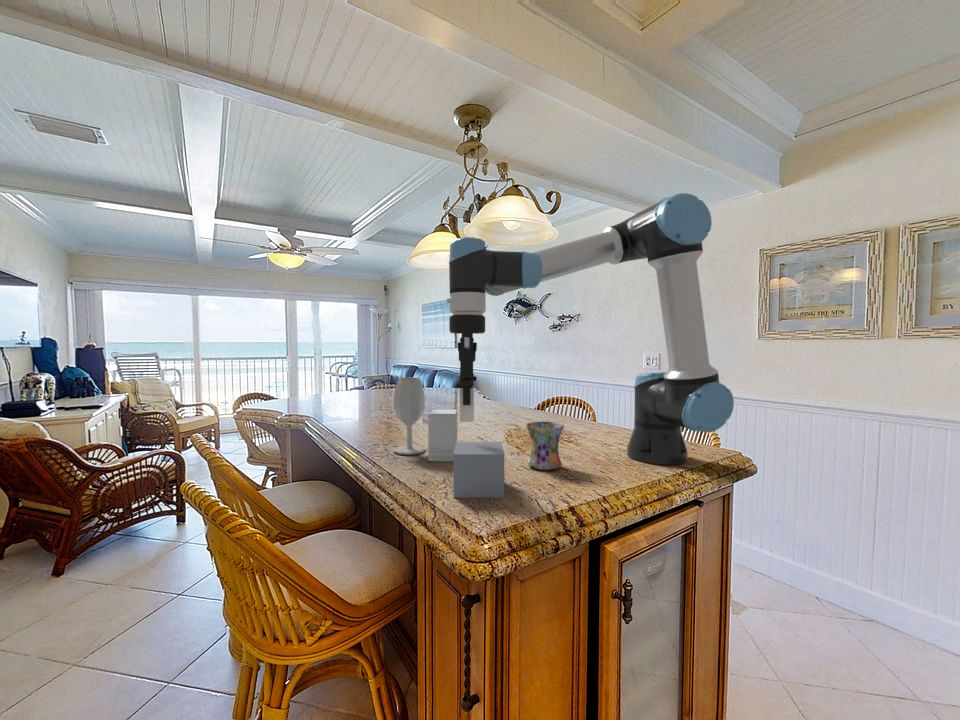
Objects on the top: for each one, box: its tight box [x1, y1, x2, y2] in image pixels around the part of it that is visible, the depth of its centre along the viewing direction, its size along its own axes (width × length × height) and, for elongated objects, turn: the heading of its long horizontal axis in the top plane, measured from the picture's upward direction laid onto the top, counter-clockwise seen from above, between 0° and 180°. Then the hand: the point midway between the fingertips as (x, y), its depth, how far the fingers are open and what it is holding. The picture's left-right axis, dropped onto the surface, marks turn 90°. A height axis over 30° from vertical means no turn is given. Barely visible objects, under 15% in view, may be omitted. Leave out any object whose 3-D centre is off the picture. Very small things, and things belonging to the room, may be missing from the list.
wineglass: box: [392, 376, 427, 456], centre depth 118 cm, size 9×9×21 cm
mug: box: [525, 420, 565, 471], centre depth 106 cm, size 12×9×11 cm
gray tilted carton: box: [453, 441, 505, 499], centre depth 89 cm, size 10×10×9 cm
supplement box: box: [427, 409, 458, 462], centre depth 112 cm, size 7×7×13 cm
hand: (467, 415), depth 88 cm, fingers open, 13 cm apart
